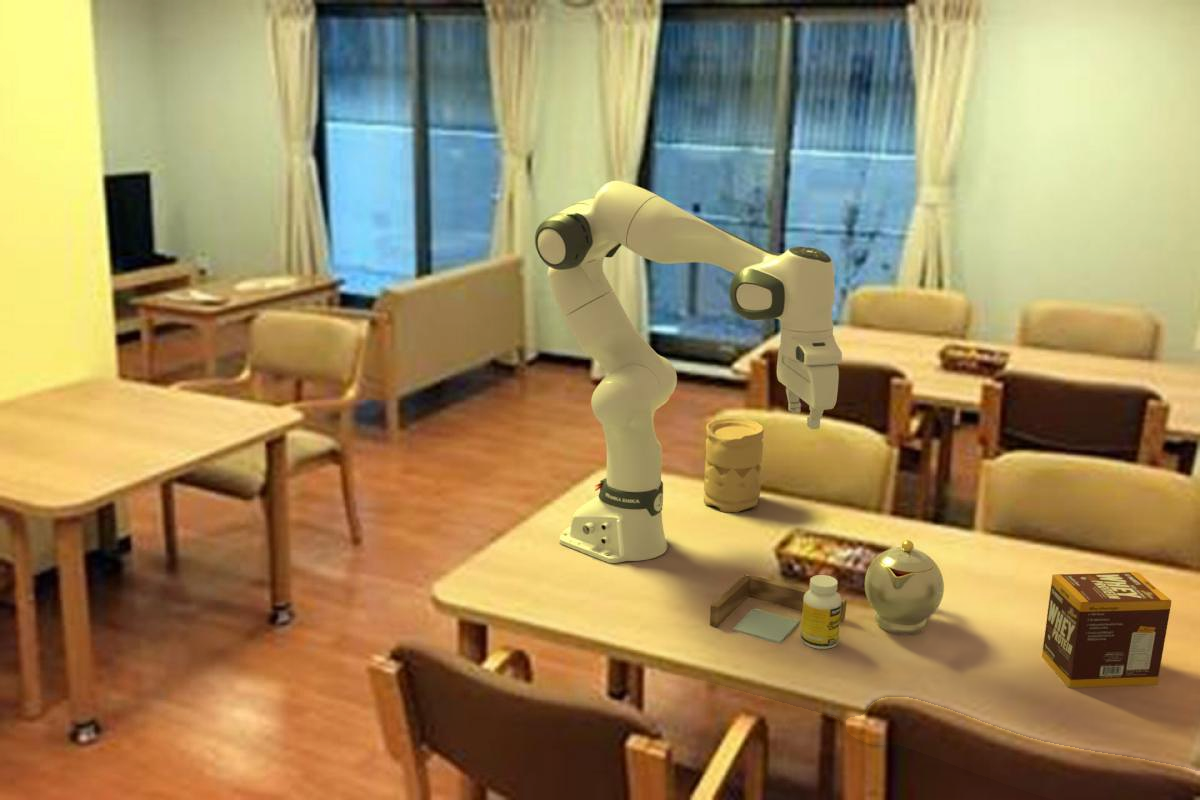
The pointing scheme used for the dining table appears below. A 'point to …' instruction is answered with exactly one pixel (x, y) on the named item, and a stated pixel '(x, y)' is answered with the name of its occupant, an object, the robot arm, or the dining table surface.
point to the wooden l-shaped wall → (760, 597)
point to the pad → (766, 625)
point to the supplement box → (1105, 629)
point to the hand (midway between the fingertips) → (803, 419)
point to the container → (733, 464)
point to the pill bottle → (821, 613)
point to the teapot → (904, 589)
